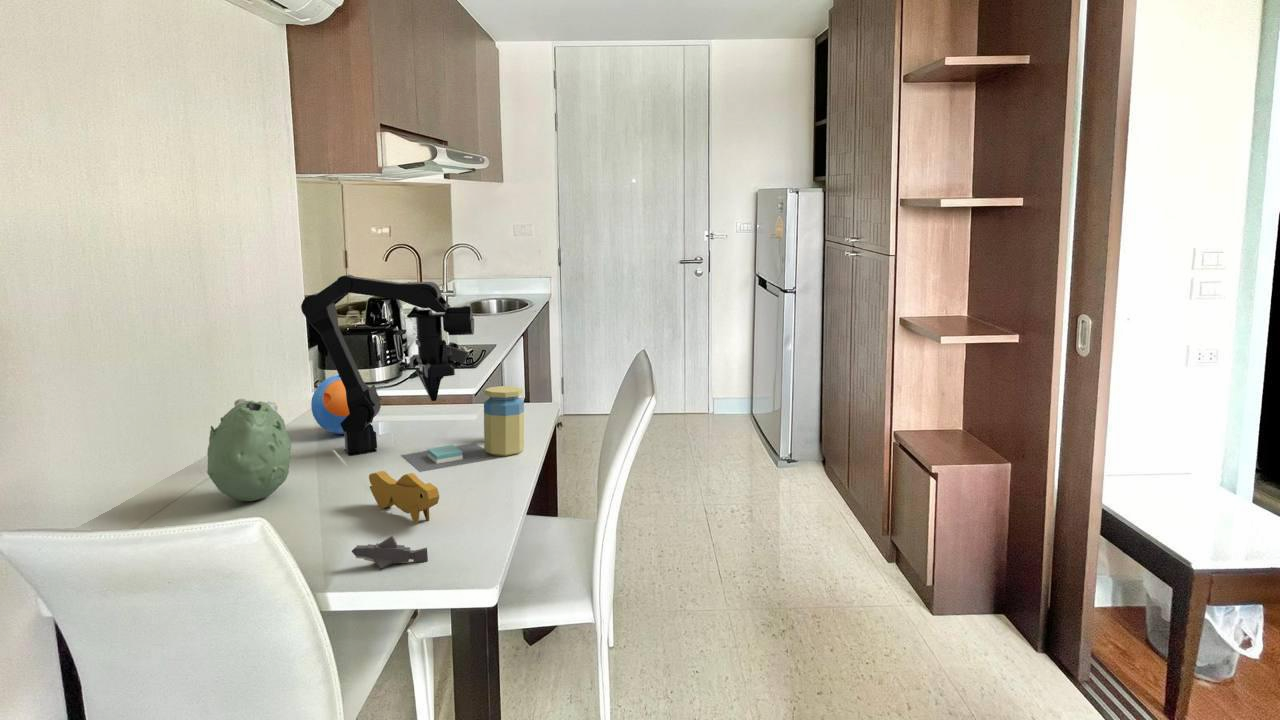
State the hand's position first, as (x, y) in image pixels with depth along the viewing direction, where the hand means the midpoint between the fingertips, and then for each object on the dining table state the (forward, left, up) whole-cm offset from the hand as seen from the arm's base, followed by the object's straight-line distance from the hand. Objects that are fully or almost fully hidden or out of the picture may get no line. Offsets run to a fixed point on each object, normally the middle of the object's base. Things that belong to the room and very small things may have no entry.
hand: (433, 400), depth 210 cm
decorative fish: (-19, -43, -12) cm, 49 cm away
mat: (0, -10, -12) cm, 15 cm away
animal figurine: (-27, -65, -12) cm, 72 cm away
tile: (-1, -7, -11) cm, 13 cm away
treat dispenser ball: (-15, +30, -12) cm, 36 cm away
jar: (+12, -14, -12) cm, 22 cm away
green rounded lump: (-42, -15, -12) cm, 46 cm away
